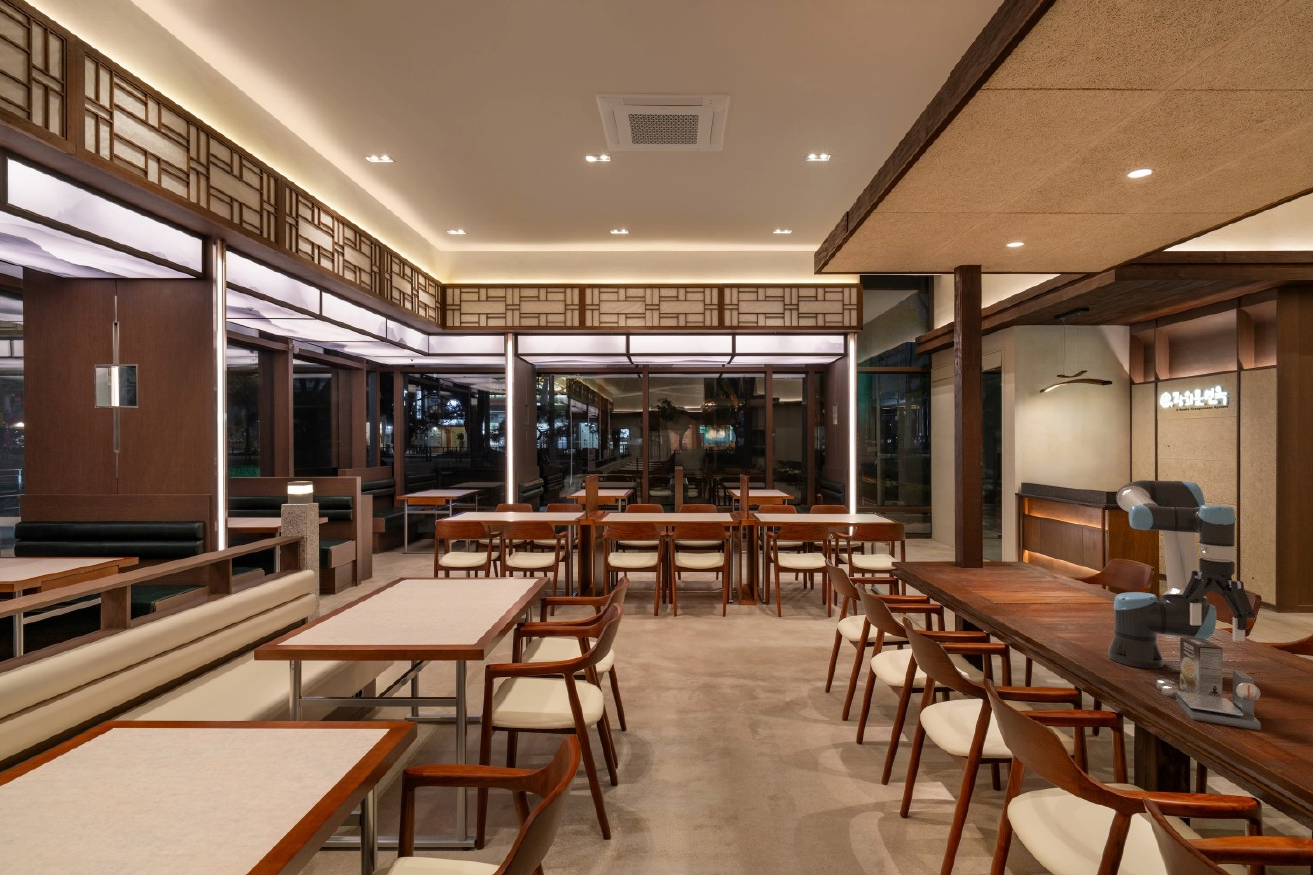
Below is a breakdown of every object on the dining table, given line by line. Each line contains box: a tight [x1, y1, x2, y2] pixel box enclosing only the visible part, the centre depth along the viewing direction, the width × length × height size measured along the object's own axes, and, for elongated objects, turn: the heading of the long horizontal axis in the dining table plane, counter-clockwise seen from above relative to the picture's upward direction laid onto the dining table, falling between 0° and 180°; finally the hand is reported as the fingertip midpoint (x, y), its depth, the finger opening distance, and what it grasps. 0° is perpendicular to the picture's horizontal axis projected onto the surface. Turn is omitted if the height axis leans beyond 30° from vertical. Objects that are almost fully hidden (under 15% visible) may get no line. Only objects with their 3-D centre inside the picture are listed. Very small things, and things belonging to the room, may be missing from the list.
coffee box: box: [1179, 636, 1223, 698], centre depth 182 cm, size 9×6×16 cm
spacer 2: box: [1161, 684, 1182, 699], centre depth 182 cm, size 4×4×2 cm
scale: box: [1175, 670, 1262, 731], centre depth 169 cm, size 14×15×12 cm
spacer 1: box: [1156, 678, 1176, 691], centre depth 187 cm, size 4×4×2 cm
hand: (1216, 632), depth 175 cm, fingers open, 13 cm apart
